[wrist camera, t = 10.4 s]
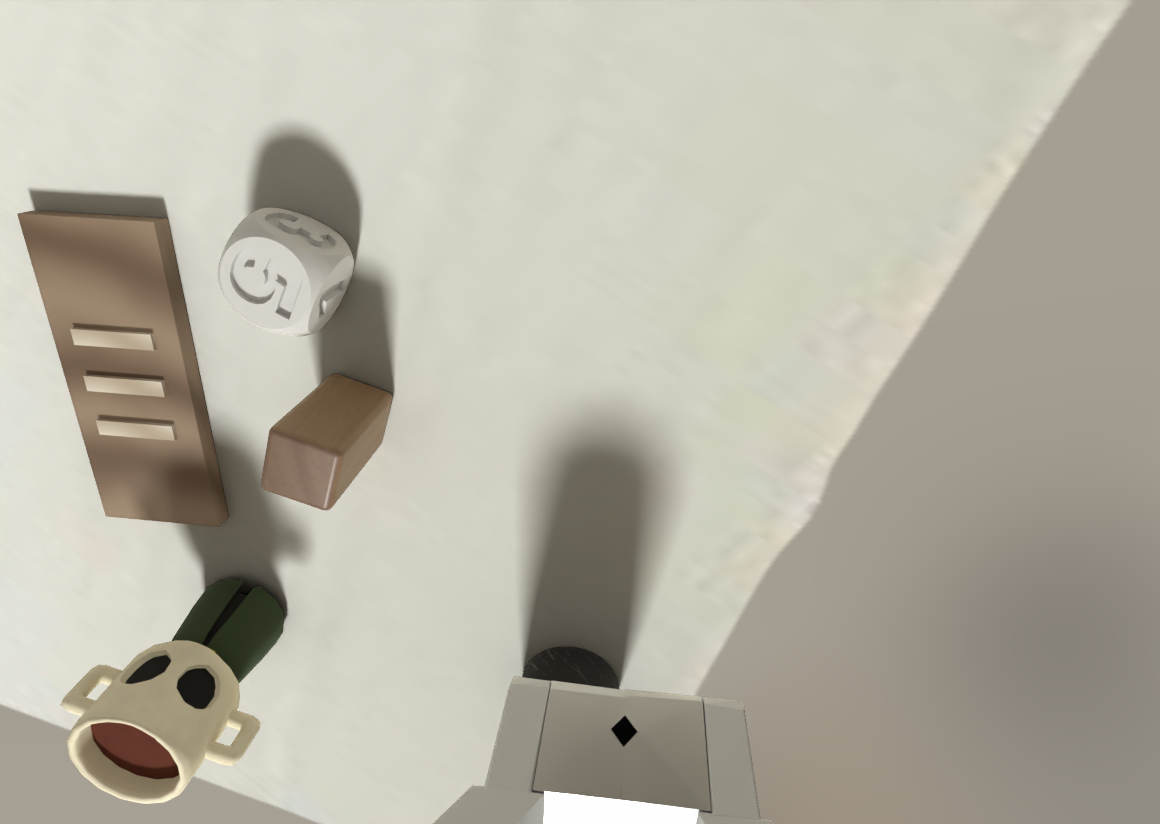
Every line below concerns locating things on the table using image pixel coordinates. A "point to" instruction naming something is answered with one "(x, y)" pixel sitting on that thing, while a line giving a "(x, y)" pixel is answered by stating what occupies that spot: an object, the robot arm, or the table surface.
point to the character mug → (174, 699)
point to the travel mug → (571, 667)
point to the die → (285, 271)
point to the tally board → (128, 362)
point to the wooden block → (325, 441)
